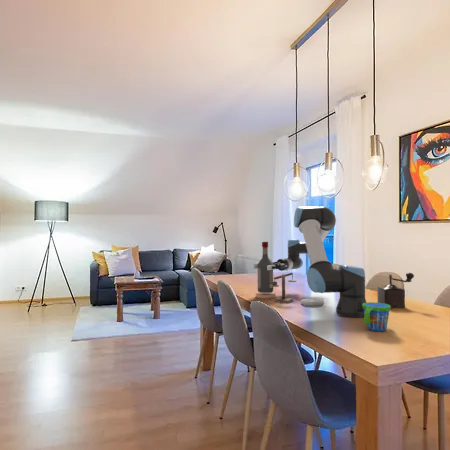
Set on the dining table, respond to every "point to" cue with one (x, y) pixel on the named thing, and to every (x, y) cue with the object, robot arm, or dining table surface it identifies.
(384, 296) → the manual coffee grinder
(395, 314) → the dining table surface
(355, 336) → the dining table surface
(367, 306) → the snack cup
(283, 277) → the balance
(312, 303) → the grey dish
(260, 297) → the terracotta dish
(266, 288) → the liquor
